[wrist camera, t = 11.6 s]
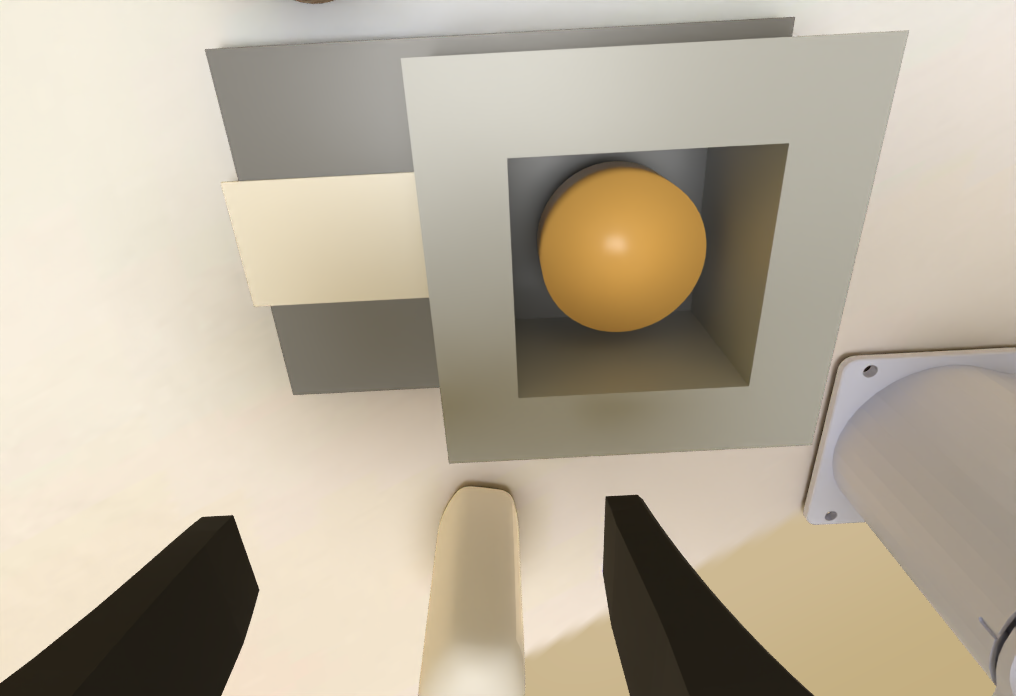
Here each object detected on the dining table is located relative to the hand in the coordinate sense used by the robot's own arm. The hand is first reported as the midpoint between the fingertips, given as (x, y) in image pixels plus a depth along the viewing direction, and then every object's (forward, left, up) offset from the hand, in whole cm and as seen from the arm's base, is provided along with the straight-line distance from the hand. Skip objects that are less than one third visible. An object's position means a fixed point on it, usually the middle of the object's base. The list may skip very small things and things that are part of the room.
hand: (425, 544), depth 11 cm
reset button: (-5, -3, -8) cm, 10 cm away
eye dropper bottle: (0, +10, -11) cm, 15 cm away
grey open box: (-2, -3, -10) cm, 11 cm away
